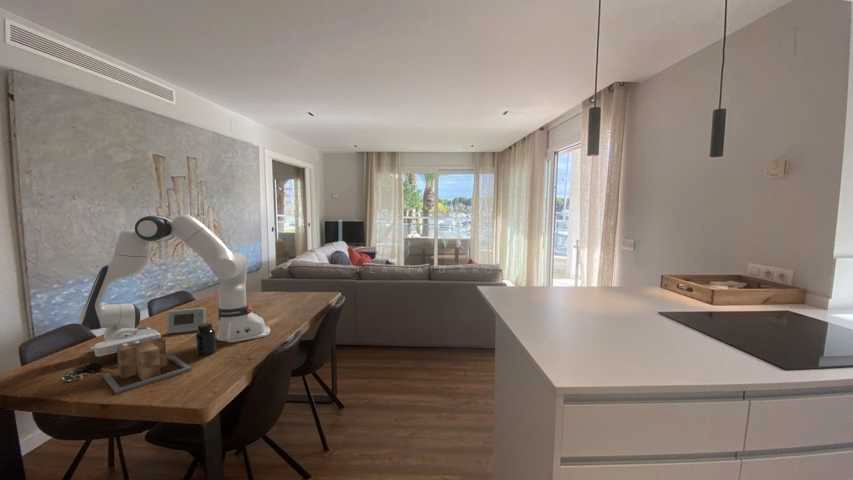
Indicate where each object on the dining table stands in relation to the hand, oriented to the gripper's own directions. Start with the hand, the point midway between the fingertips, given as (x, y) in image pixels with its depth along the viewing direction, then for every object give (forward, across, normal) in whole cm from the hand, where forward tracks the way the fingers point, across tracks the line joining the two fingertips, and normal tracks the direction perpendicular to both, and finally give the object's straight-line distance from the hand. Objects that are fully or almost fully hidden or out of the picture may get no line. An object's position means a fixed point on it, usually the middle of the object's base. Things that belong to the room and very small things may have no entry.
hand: (133, 347), depth 134 cm
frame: (+16, 0, +6) cm, 17 cm away
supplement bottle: (+13, +20, +6) cm, 25 cm away
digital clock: (-25, +26, +6) cm, 37 cm away
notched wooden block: (+16, 0, +6) cm, 17 cm away
